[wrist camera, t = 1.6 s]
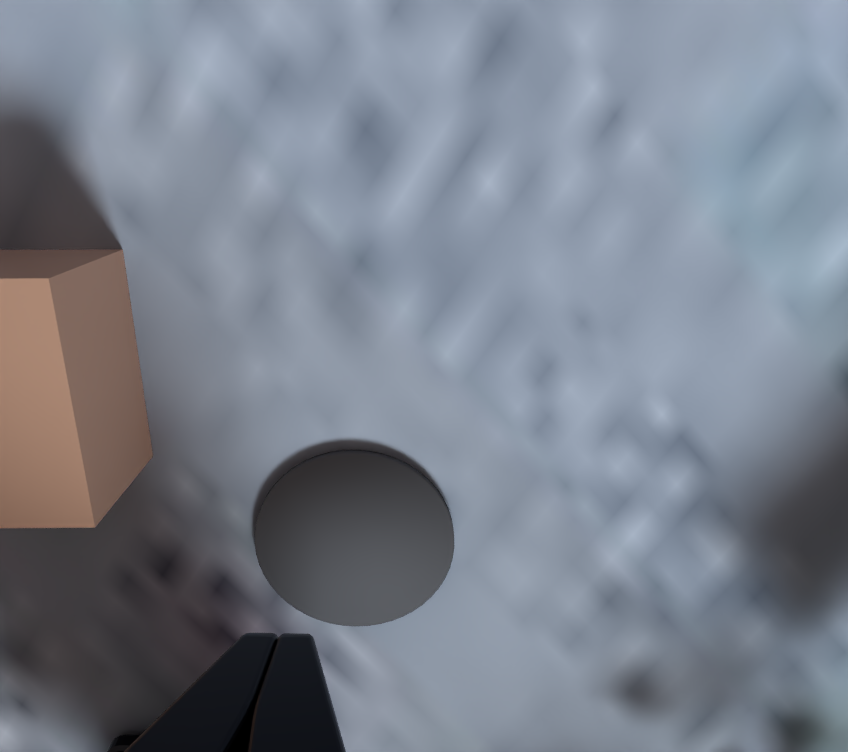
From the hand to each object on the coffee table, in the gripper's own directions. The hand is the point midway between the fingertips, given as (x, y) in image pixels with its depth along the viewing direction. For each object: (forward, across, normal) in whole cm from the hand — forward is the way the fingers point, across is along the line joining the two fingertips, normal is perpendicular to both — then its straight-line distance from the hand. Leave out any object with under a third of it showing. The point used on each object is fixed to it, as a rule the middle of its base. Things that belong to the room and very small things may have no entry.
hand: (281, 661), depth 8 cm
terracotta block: (+11, +9, 0) cm, 15 cm away
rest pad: (+11, 0, +5) cm, 12 cm away
